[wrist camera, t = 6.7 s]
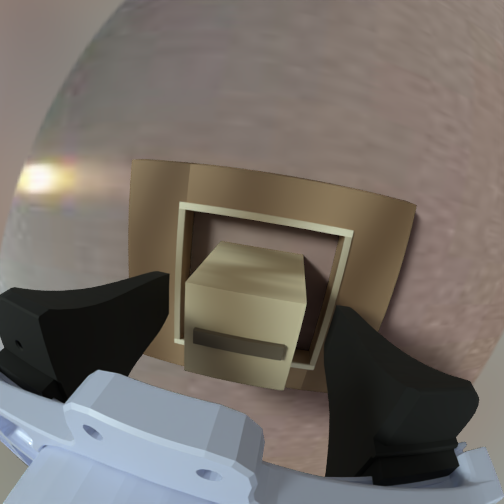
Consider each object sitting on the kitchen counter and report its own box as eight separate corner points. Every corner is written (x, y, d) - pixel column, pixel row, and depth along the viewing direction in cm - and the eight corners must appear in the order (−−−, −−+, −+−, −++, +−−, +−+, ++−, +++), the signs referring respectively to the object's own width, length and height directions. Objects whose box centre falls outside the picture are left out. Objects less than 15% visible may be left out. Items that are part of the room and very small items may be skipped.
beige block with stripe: (302, 254, 14) (306, 306, 9) (288, 324, 15) (282, 394, 10) (221, 241, 14) (183, 284, 9) (215, 311, 15) (182, 373, 10)
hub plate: (407, 201, 12) (417, 205, 11) (347, 381, 16) (350, 395, 14) (144, 159, 13) (130, 159, 12) (143, 340, 17) (134, 352, 16)
